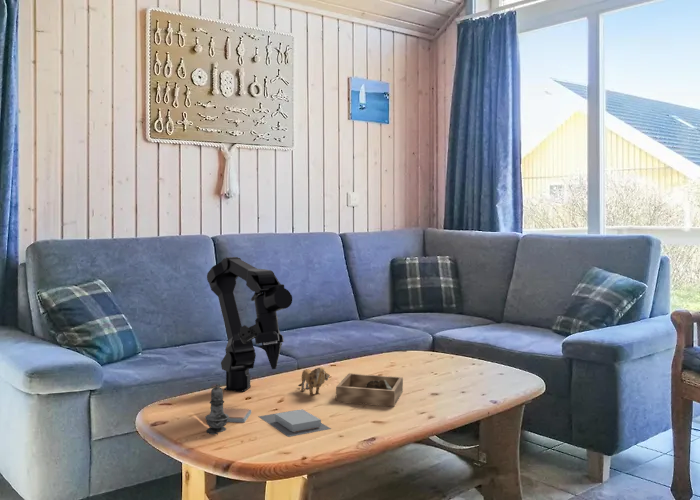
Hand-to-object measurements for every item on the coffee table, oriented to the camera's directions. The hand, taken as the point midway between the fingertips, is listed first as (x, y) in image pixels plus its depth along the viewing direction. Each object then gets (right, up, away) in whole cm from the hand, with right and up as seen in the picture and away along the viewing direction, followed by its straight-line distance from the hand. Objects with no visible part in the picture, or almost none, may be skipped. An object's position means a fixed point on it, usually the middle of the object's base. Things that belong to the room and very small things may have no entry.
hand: (274, 369), depth 187 cm
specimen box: (+27, -10, +11) cm, 31 cm away
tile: (+5, -10, -12) cm, 17 cm away
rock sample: (+31, -11, +13) cm, 35 cm away
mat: (+7, -12, -15) cm, 20 cm away
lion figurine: (+10, -10, +14) cm, 20 cm away
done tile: (-11, -12, -11) cm, 19 cm away
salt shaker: (-12, -12, -21) cm, 27 cm away
